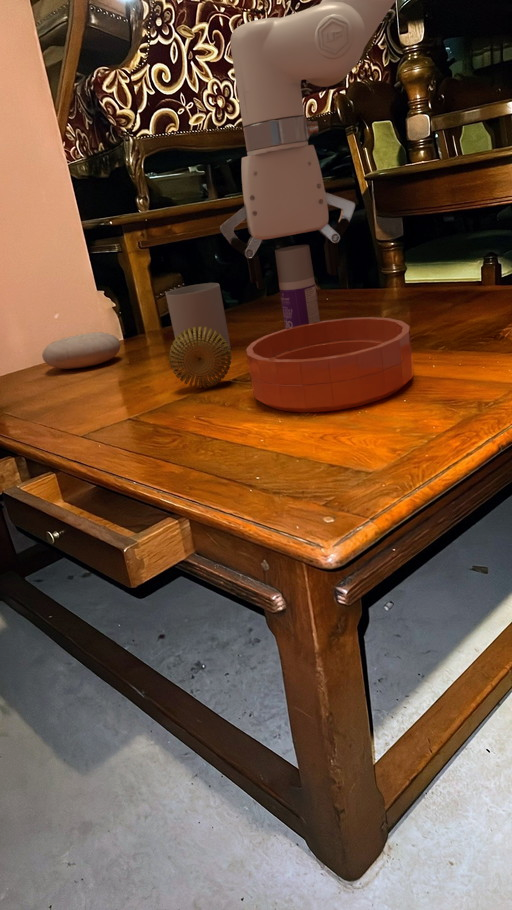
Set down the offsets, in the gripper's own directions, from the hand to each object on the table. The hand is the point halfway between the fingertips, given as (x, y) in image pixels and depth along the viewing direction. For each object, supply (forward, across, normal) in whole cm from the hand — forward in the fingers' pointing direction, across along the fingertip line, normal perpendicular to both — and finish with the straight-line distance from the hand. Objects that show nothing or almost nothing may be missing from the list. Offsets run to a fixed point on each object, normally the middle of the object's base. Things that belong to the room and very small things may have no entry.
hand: (296, 280), depth 90 cm
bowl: (+11, -1, +14) cm, 18 cm away
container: (+11, 0, 0) cm, 11 cm away
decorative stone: (+11, +34, -22) cm, 42 cm away
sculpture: (+11, +14, +4) cm, 18 cm away
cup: (+11, +14, -16) cm, 24 cm away
